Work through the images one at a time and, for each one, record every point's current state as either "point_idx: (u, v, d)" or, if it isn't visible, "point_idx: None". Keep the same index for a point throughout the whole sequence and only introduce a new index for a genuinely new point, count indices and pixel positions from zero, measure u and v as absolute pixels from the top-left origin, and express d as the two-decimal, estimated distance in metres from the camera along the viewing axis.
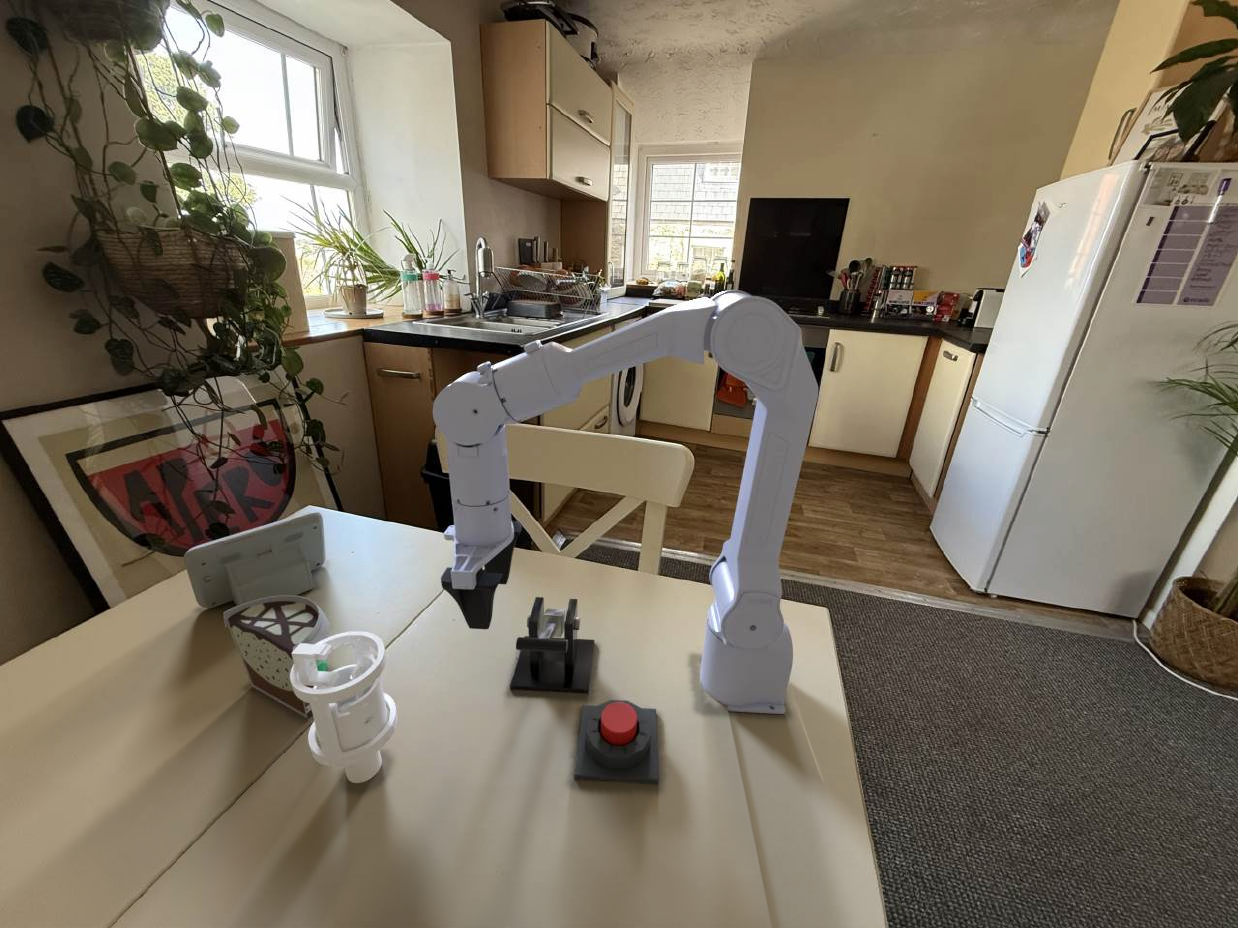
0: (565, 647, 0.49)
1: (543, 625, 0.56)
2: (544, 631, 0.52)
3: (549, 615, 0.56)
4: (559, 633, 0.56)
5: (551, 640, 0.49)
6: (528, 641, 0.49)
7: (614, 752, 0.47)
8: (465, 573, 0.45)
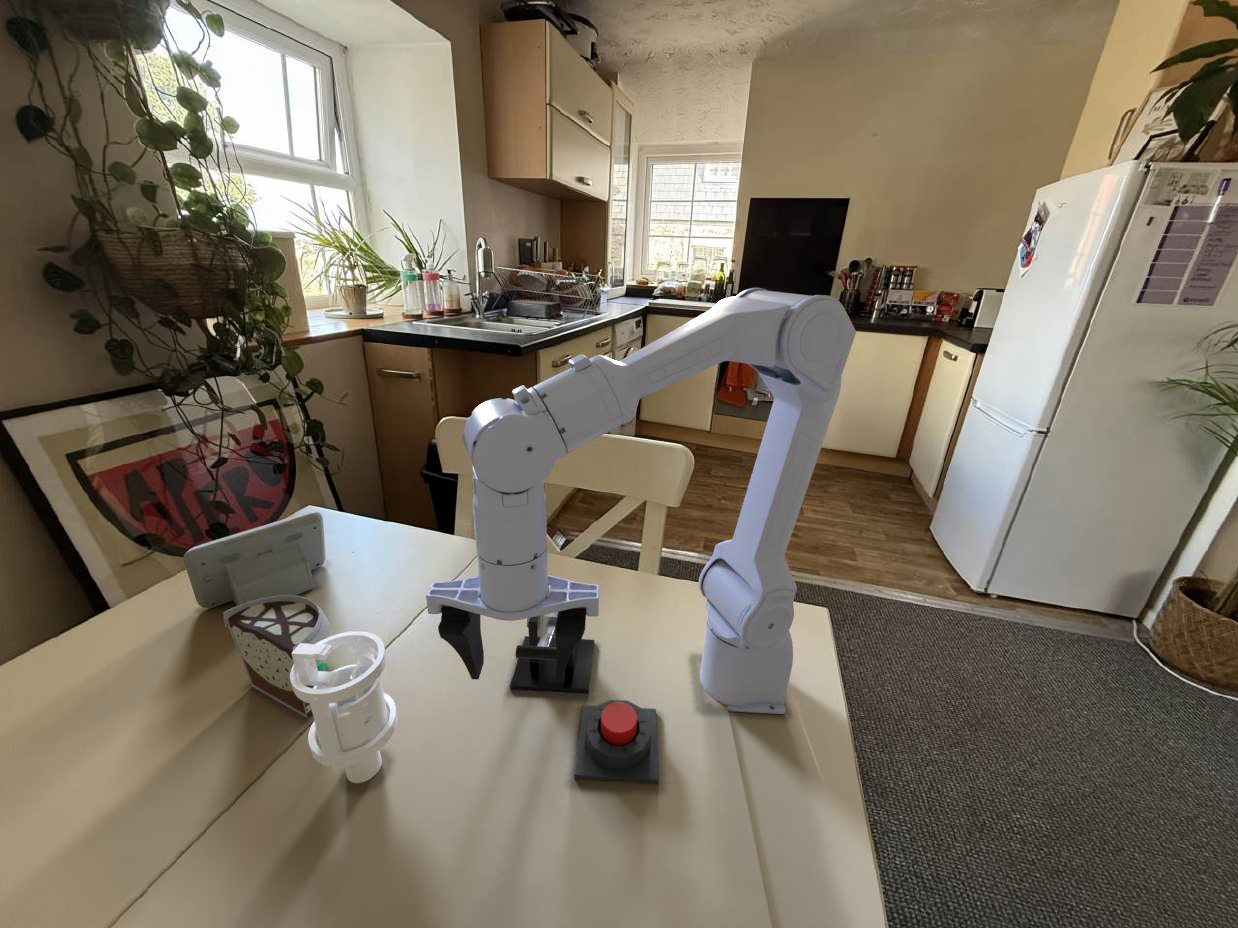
0: None
1: (543, 626, 0.56)
2: (544, 636, 0.52)
3: (549, 616, 0.56)
4: None
5: (551, 649, 0.49)
6: (528, 649, 0.49)
7: (614, 752, 0.47)
8: None
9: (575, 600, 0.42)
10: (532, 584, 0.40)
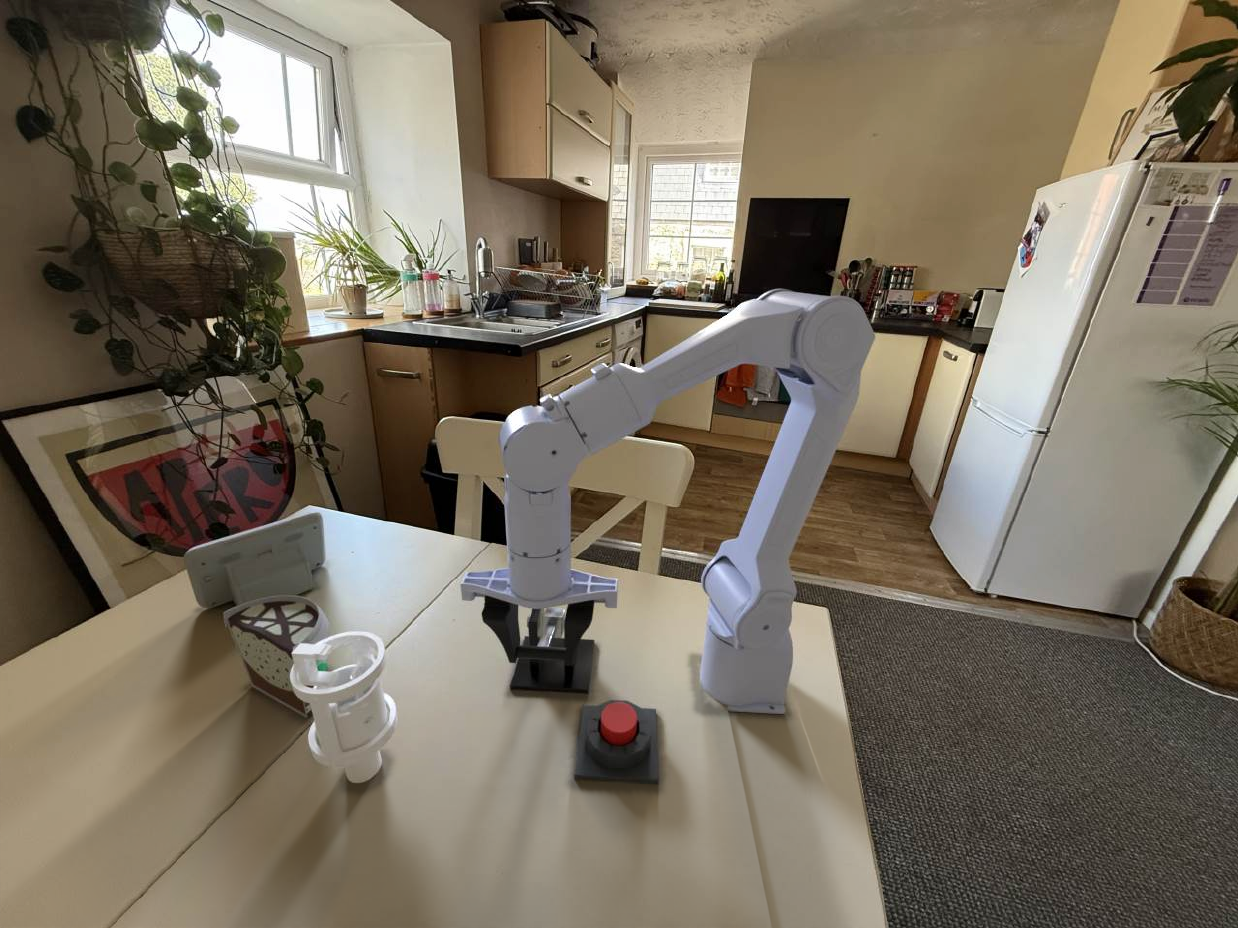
0: None
1: (543, 626, 0.56)
2: (544, 636, 0.52)
3: (549, 616, 0.56)
4: (559, 634, 0.56)
5: (551, 649, 0.49)
6: (528, 649, 0.49)
7: (614, 752, 0.47)
8: None
9: (595, 592, 0.45)
10: (557, 576, 0.43)
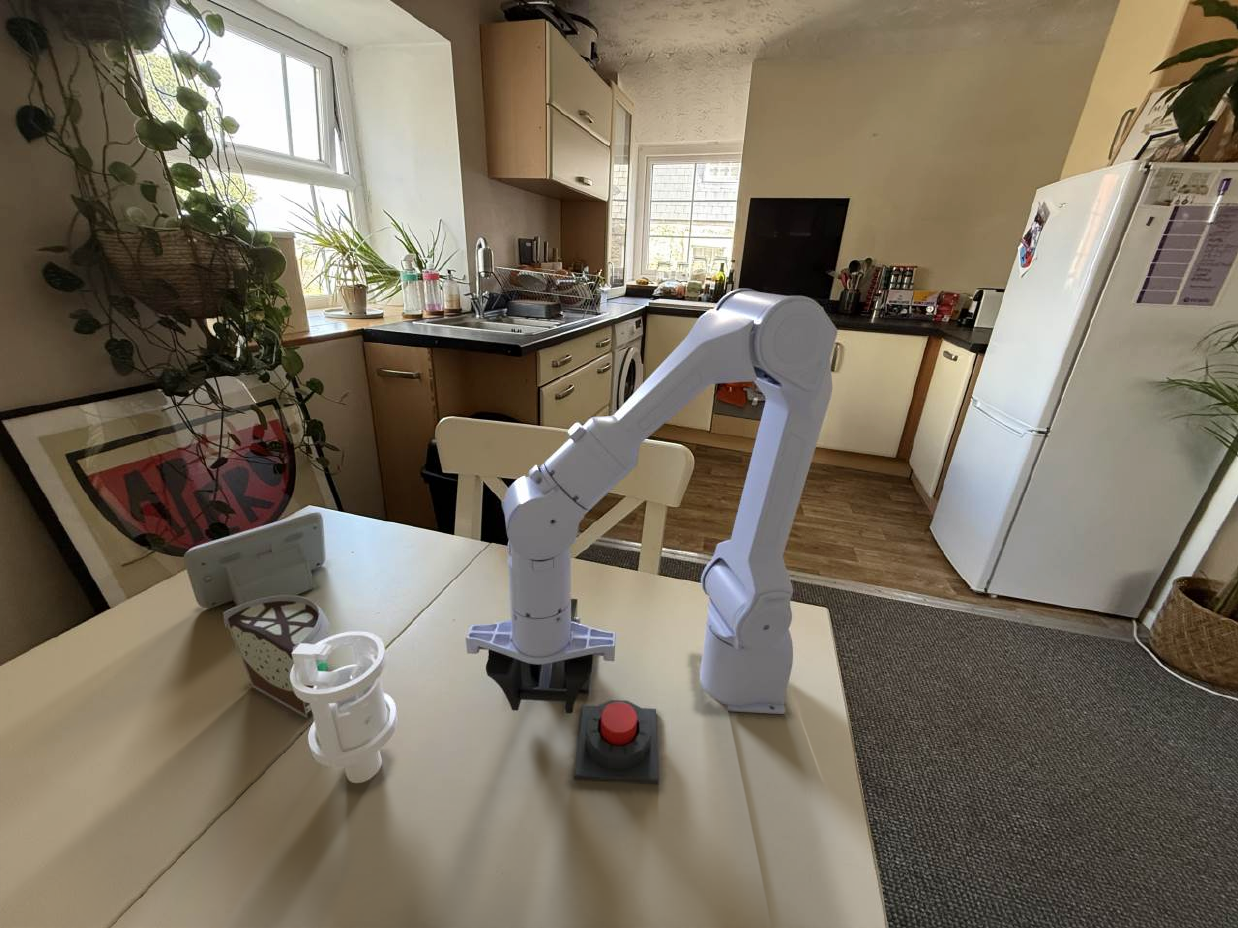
0: (565, 701, 0.51)
1: None
2: (544, 666, 0.53)
3: None
4: None
5: (551, 695, 0.51)
6: (530, 696, 0.51)
7: (614, 752, 0.47)
8: (467, 635, 0.48)
9: (594, 647, 0.47)
10: (557, 634, 0.46)
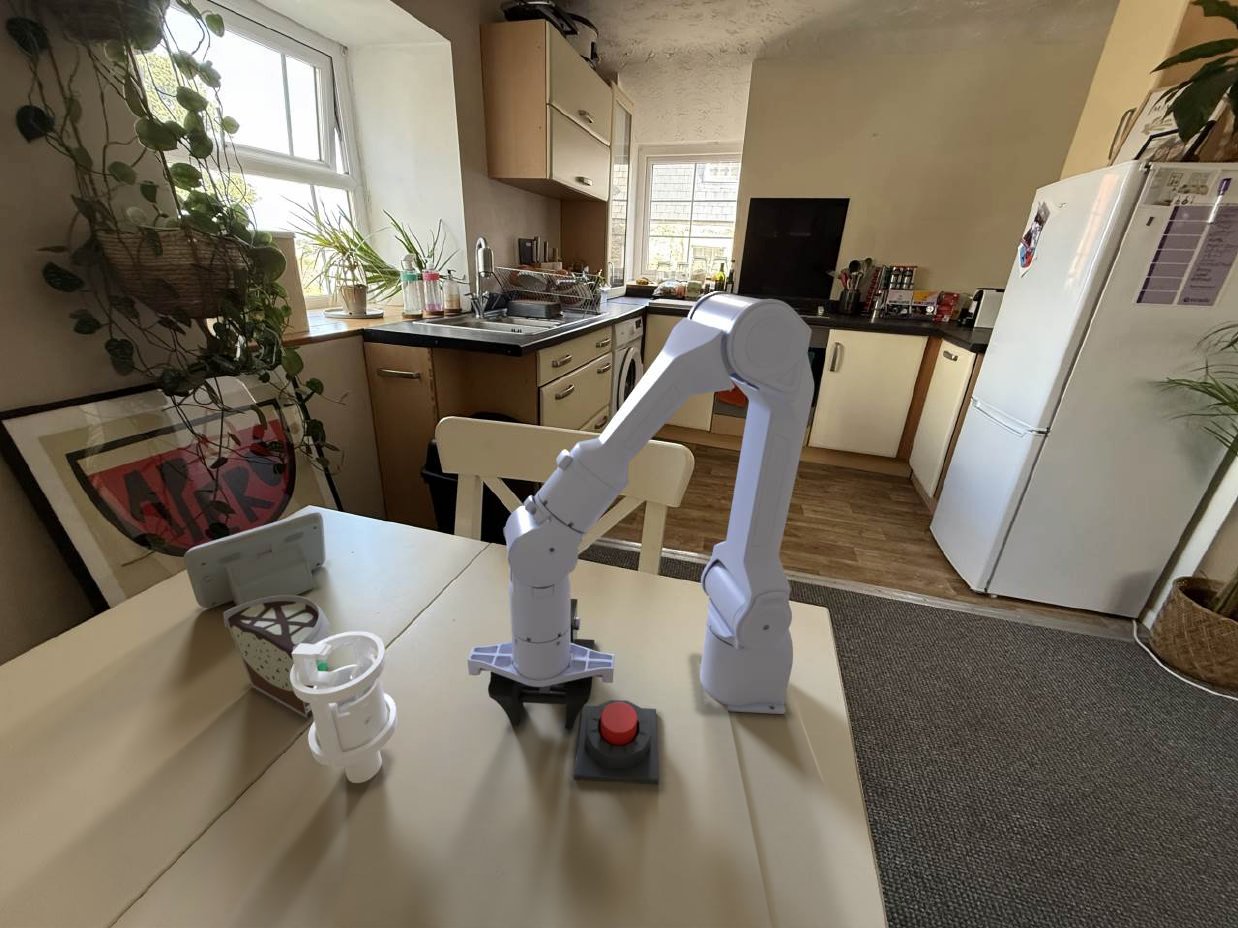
0: None
1: None
2: None
3: None
4: None
5: (552, 698, 0.52)
6: (531, 700, 0.52)
7: (614, 752, 0.47)
8: None
9: (593, 669, 0.49)
10: (557, 657, 0.47)
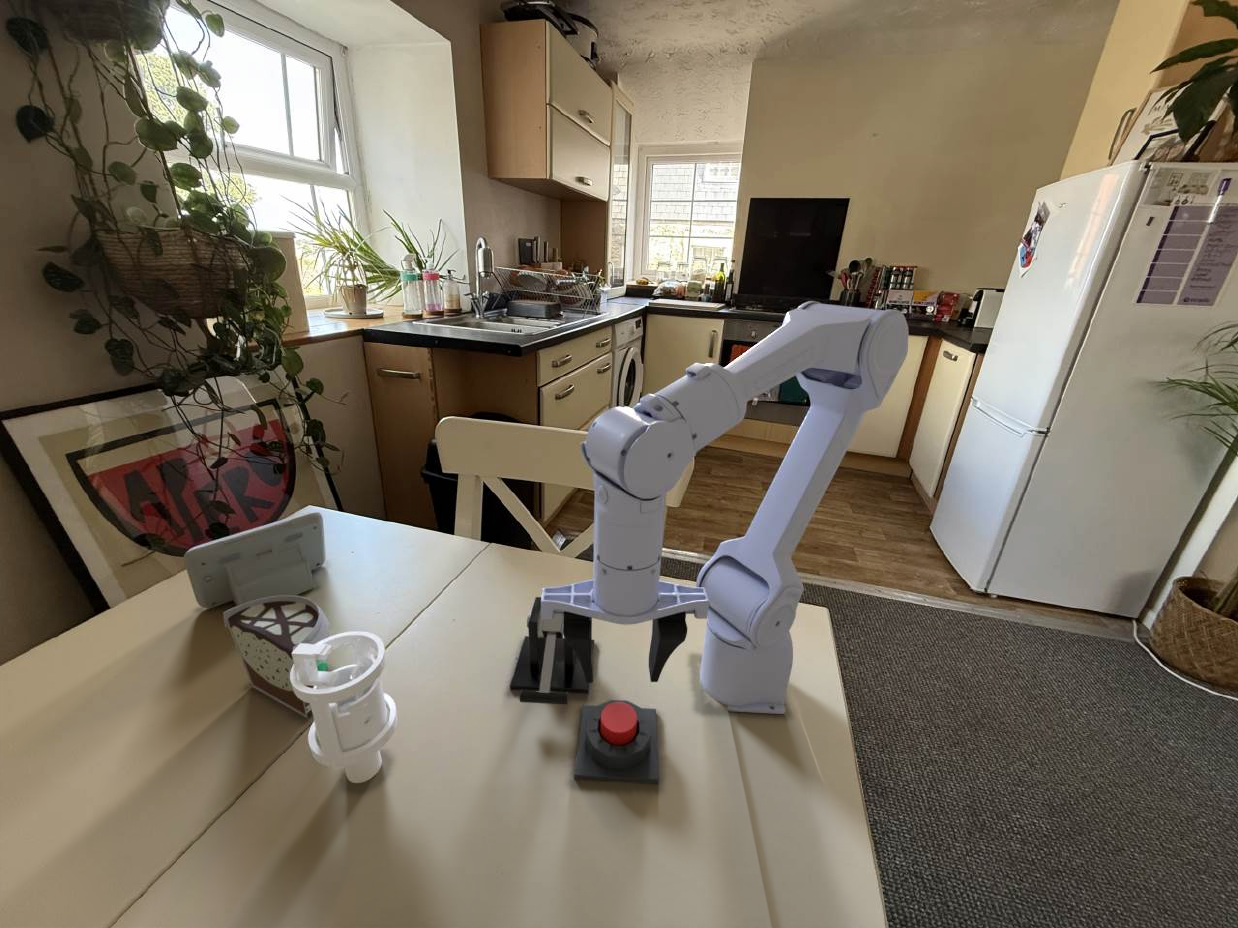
0: (566, 704, 0.52)
1: (543, 633, 0.56)
2: (545, 668, 0.54)
3: (548, 630, 0.56)
4: (560, 637, 0.57)
5: (552, 698, 0.52)
6: (531, 699, 0.52)
7: (614, 752, 0.47)
8: (541, 598, 0.43)
9: (687, 603, 0.42)
10: (651, 588, 0.41)
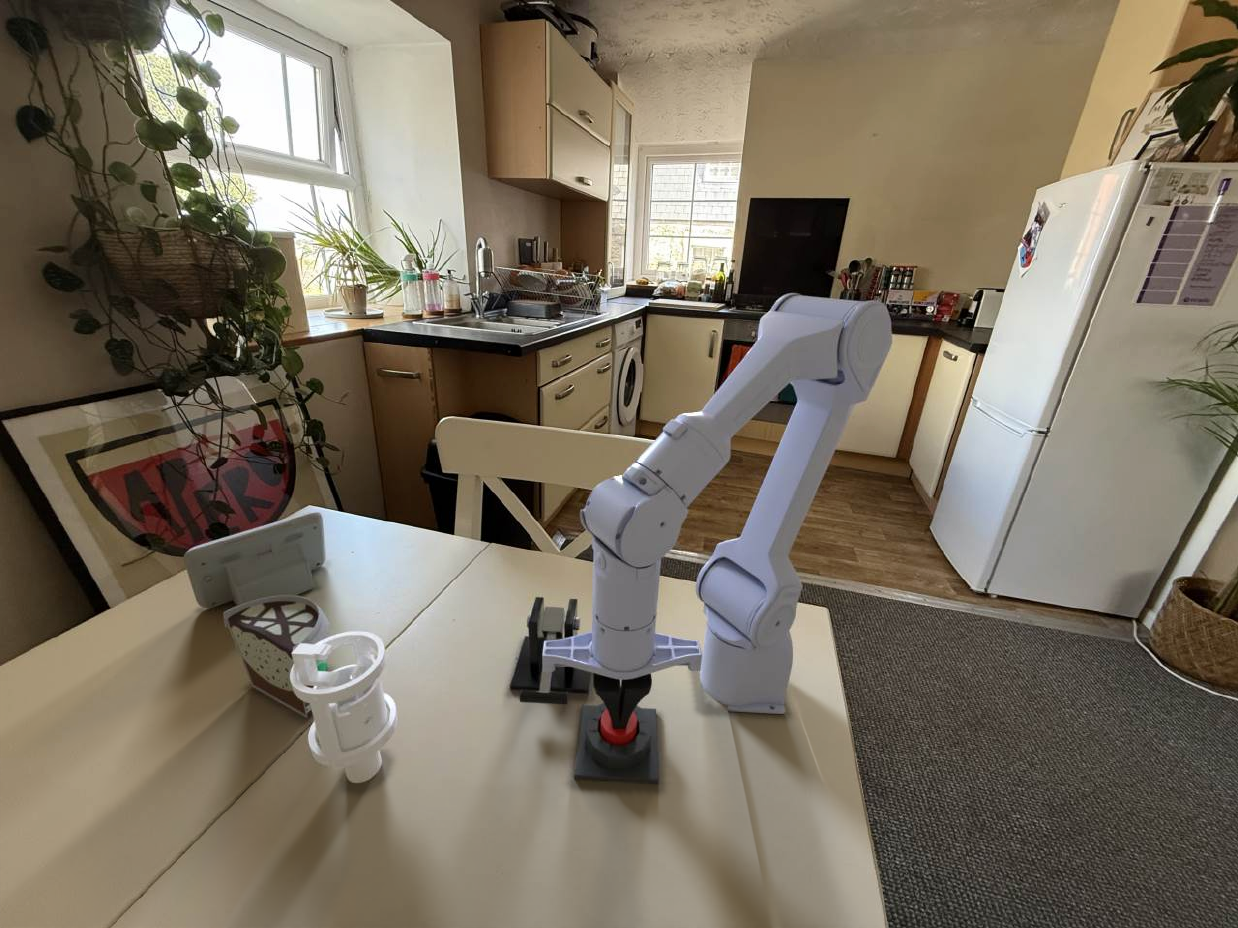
0: (566, 704, 0.52)
1: (543, 633, 0.56)
2: None
3: (548, 630, 0.56)
4: (560, 637, 0.57)
5: (552, 698, 0.52)
6: (531, 699, 0.52)
7: (614, 752, 0.47)
8: (543, 652, 0.45)
9: (681, 657, 0.45)
10: (646, 645, 0.43)
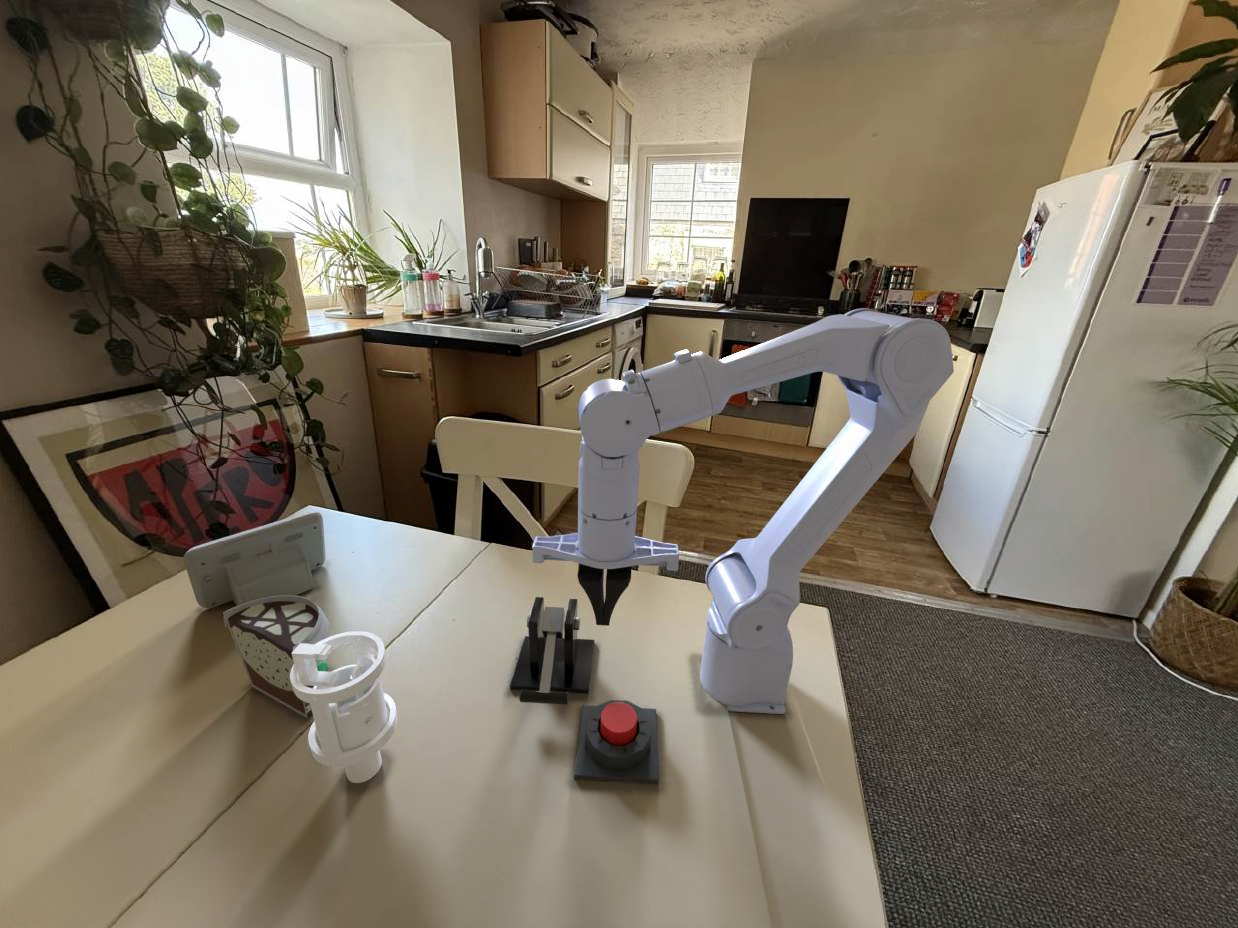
0: (566, 704, 0.52)
1: (543, 633, 0.56)
2: (545, 668, 0.54)
3: (548, 630, 0.56)
4: (560, 637, 0.57)
5: (552, 698, 0.52)
6: (531, 699, 0.52)
7: (614, 752, 0.47)
8: None
9: (659, 555, 0.48)
10: (625, 538, 0.47)
